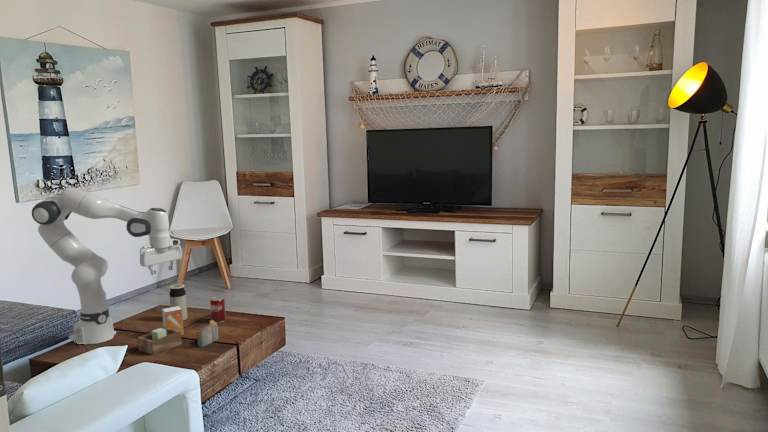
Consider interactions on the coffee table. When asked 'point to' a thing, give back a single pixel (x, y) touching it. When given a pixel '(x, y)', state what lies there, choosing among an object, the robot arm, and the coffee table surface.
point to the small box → (173, 318)
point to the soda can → (218, 309)
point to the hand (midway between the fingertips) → (162, 272)
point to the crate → (159, 342)
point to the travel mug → (178, 298)
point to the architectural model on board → (207, 334)
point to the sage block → (158, 333)
